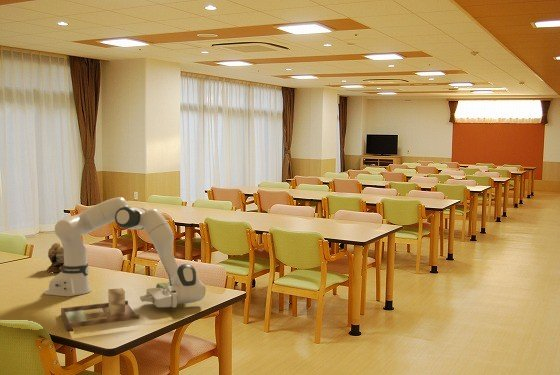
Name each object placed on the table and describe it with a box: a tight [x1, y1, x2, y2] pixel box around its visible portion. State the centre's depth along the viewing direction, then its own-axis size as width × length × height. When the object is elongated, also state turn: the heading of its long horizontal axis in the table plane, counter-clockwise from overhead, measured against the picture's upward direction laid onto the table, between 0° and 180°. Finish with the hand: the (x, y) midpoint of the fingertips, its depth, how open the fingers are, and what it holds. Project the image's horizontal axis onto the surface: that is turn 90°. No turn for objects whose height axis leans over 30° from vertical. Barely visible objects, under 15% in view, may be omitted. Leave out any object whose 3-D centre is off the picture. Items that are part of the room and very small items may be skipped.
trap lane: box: [60, 299, 140, 332], centre depth 249 cm, size 29×24×3 cm
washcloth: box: [155, 281, 170, 289], centre depth 296 cm, size 13×18×3 cm
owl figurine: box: [46, 242, 64, 274], centre depth 335 cm, size 18×12×17 cm, turn 45°
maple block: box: [107, 287, 126, 315], centre depth 252 cm, size 6×6×10 cm
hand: (140, 298), depth 257 cm, fingers closed
